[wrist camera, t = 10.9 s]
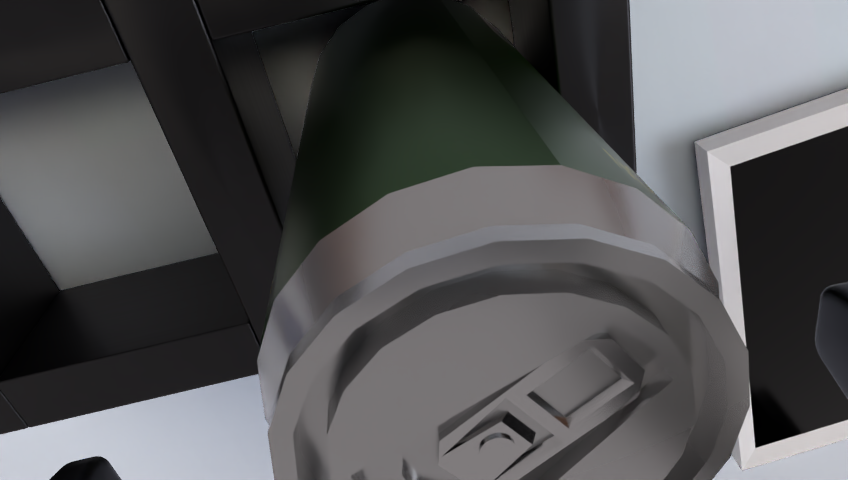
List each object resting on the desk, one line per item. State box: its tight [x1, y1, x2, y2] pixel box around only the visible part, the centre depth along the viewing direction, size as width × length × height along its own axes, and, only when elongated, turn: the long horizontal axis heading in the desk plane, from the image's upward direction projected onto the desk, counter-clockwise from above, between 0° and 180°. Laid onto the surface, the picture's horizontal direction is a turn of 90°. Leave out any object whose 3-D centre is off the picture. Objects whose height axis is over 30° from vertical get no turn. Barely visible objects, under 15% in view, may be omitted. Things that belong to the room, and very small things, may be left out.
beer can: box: [257, 0, 750, 480], centre depth 12 cm, size 5×5×12 cm
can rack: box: [0, 0, 636, 434], centre depth 15 cm, size 18×10×4 cm, turn 102°
